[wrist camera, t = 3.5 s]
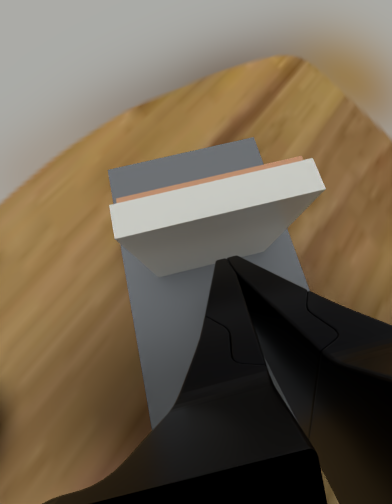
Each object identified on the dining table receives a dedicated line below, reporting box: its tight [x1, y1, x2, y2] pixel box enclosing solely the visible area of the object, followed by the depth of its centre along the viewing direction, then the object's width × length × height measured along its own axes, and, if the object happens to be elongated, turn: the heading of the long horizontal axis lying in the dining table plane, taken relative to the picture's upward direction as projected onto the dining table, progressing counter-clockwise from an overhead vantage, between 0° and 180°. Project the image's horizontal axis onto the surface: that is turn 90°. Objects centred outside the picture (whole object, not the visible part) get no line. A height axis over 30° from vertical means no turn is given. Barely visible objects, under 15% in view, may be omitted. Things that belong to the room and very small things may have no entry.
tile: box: [109, 156, 326, 277], centre depth 12 cm, size 2×7×8 cm, turn 104°
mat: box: [108, 137, 310, 430], centre depth 16 cm, size 19×11×1 cm, turn 14°
